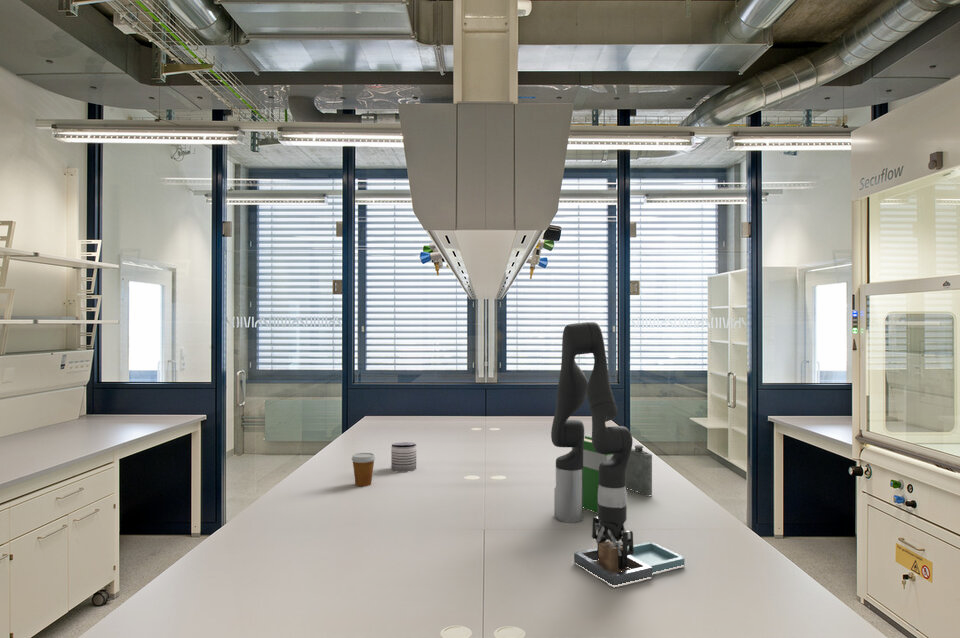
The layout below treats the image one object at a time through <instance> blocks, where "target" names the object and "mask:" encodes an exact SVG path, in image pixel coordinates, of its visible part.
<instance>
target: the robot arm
mask: <svg viewBox="0 0 960 638" xmlns="http://www.w3.org/2000/svg"><path fill="white" fill-rule="evenodd" d="M603 335H604V334H603V331H602V328H601V327H600V325H599V324H598V323H597V322H596V321H586V322H575V323H570V324H567V325H565V327H564V328H563V332H562V341H561V343H562V344H561V345H562V346H561V363H560V364H561V366H560V372H559V380H558V385H557V392H556V405H555V412H554V416H553V421H552V425H551V431H550V433H551V434H550V438H551V443H552V444H553V446H555V447H557V448H571V450H570V451H569V452H568V453H565V454H563V455H560V456H558V457H557V458H556V459H555V487H554V489H553V491H554V493H553V494H554V496H553V497H554V499H553V501H554V504H553V505H554V506H553V507H554V510H553V511H554V516H555V519H556V520H558V521H560V522H565V523H578V522H581V521H583V520H584V508H583V450H584V439H585V426H584V422H583V421H582V420H581V419H569V418H570V417H571V416H572V415H573V414H575V413H576V412H577V411H579V409H580V408H581V407H582V406H583V405H584V404H585V402H586V400H587V402H588V405H589V410H590V414H591V437H592V444H593V447H594V449H595V450H596V451H597V452H598V453H600V454H613V453H614V454H613V456H612V458H611V459H610V460H608V461H605V462H602V463H601V464H600V465H599V487H598V514H597V516H593V517H592V527H591V530H592V531H591V537H592V539H593V540H594V539H595V543H597V545H596V546H597V547H596V548H598V549H597V552H598V557H599V543H602V542H607V540H608V541H611V542H613V545H614V547H616V548H617V551H618V553H619V555H618V568H619V569H620V570H624V569H626V570H627V556H628V555H632V554H633V553H634V550H633V545H634V534H633V530H626V529H625V522H626V521H627V519H628V518H627V515H628V513H627V509H628V508H627V506H628V504H627V496H628V494H627V489H626V467H627V464H628V460H629V456H630V453H631V449H633V443H634V441H633V436H632V432H631V431H630V429H629V428H627V427H626V426H624V425H623V426H622V425H620V426H619V425H618V426H606V425H607V424H606V422H609V421H612V420H614V419H615V418H616V417H617V416H618V407H617V404H616V401H615V398H614V394H613V390H612V387H611V382H610V376H609V368H608V361H607V353H606V349H605V346H606V345H605V340H604V336H603ZM586 354H592V355H593V360H594V362H593V363H594V364H593V368H592V372H591V374H590V377H589V379H588V377H587V375H586V374H585V373H584V372H583V371H582V369H581V368H580V367H579V365H578V363H577V362H576V360H575V359H576V356H577V355H578V356H579V355H586ZM572 447H573V449H572ZM620 546H622V547H623V550H622V549H621V547H620ZM628 546H629V550H628V548H627V547H628Z"/></svg>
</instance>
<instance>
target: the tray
mask: <svg viewBox="0 0 960 638" xmlns="http://www.w3.org/2000/svg"><path fill="white" fill-rule="evenodd" d="M627 548H628V550H629V546H628V547H627ZM633 550H634V553H633V554H632V555H630V556H632V557H634V558H635V559H637V560H639V561H641V562H643V563H645V564H647V565H649V566H650V567H652V573H653V572H656V571H661V570H664V569H669V568H673V567H677V566H681V565H684V566H685V557H683V555H681V554H680V553H676V552H674V551H673V550H670V549H668V548H666V547H664V546H663V545H659V544H657V543H656V542H651V541H646V542H642V543H641V542H640V543H638V544H633Z"/></svg>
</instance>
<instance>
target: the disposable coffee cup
mask: <svg viewBox="0 0 960 638" xmlns="http://www.w3.org/2000/svg"><path fill="white" fill-rule="evenodd" d="M375 460H376V456H375V454H374V453H373V452H358V453H354V454H353V455H352V457H351V461H352V467H353V474H354V475H353V476H354V483H355V484H354V485H355V486H356V485H357V486H356V487H369V486H371V485H372V481H373V472H374V467H375V466H374V464H375ZM368 485H369V486H368Z"/></svg>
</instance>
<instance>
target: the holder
mask: <svg viewBox="0 0 960 638" xmlns="http://www.w3.org/2000/svg"><path fill="white" fill-rule="evenodd" d="M597 549H598V548H597V547H595V548H590V549H585V550H581V551H575V552H574V554H573V555H574V559H573V560H574V561H573V563H574V562H575V563H577V564H578V565H580V566H582V567H584V568H585V569H587V570H588V571H590V572H592V573H593V574H595V575H597V576H598V577H600V578H602V579H604V580H605V581H607V582H608V583H610V584H612V585H618V584H622V583H626V582H630V581H635V580H639V579H643V578H647V577H651V576H652V577H653V575H652V567H650V566H649V565H647V564H645V563H643V562H641V561H639V560H637V559H635V558H634V557H632V556H630V555H628V556H627V567H629V568H631V569H630V570H629V569H626V571H622V572H617V573H614V572H612V571H610V570H608V569H607V568H605V567H603V566H602V565H600V564H599V562H598V561H593V560H598V559H599V557H598V552H597Z"/></svg>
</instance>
